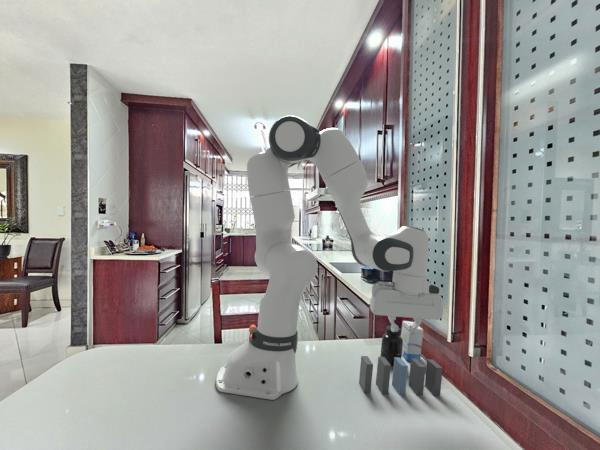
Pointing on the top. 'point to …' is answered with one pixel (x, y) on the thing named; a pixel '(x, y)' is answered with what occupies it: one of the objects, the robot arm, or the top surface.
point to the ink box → (411, 342)
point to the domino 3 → (399, 375)
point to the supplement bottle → (391, 345)
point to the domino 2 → (383, 375)
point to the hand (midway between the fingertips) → (403, 332)
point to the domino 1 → (366, 374)
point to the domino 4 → (417, 376)
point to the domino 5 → (433, 377)
